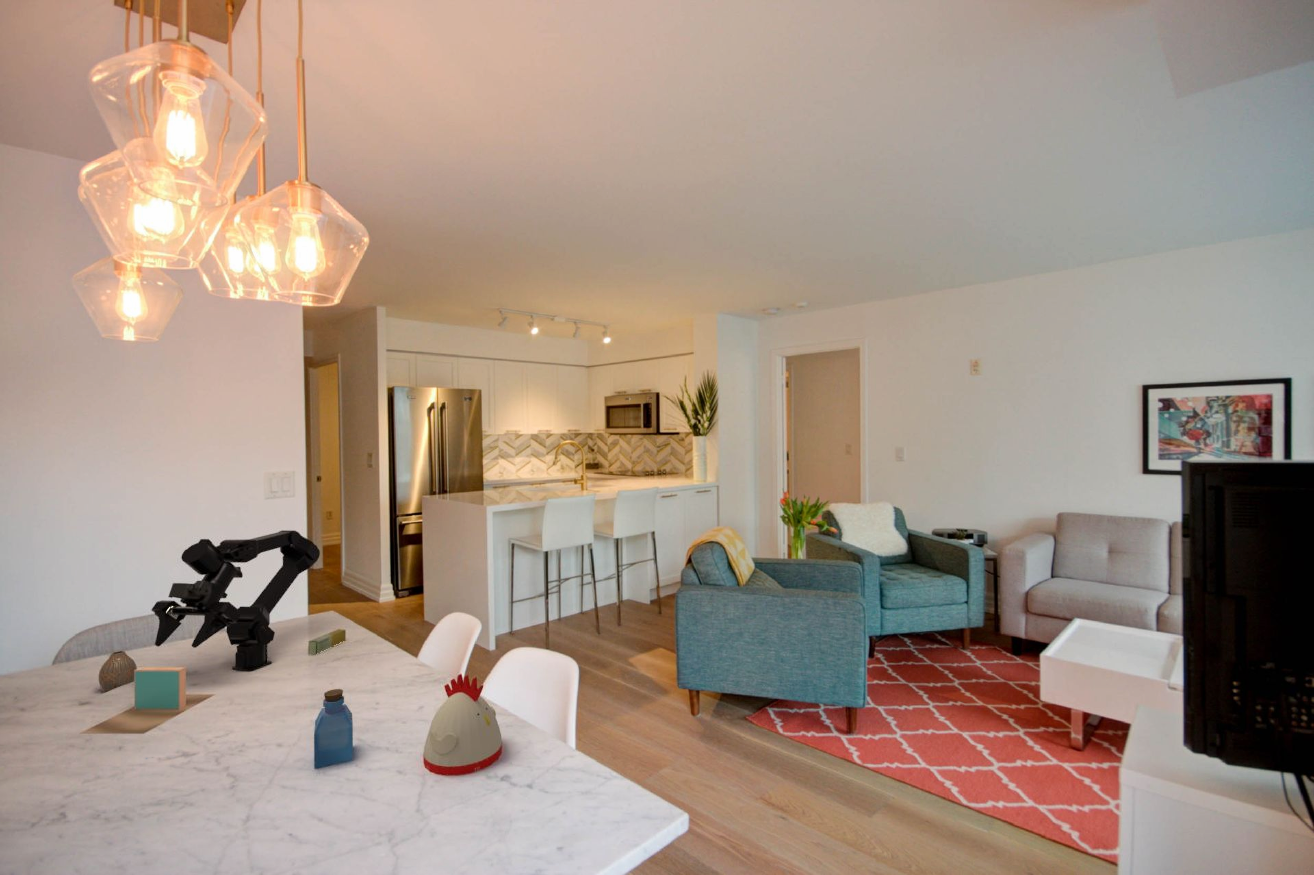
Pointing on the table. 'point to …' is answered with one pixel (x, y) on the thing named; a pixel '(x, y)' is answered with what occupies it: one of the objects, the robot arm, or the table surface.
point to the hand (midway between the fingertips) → (174, 646)
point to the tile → (160, 688)
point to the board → (143, 718)
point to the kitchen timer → (462, 732)
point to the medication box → (326, 641)
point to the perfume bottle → (333, 732)
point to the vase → (117, 671)
